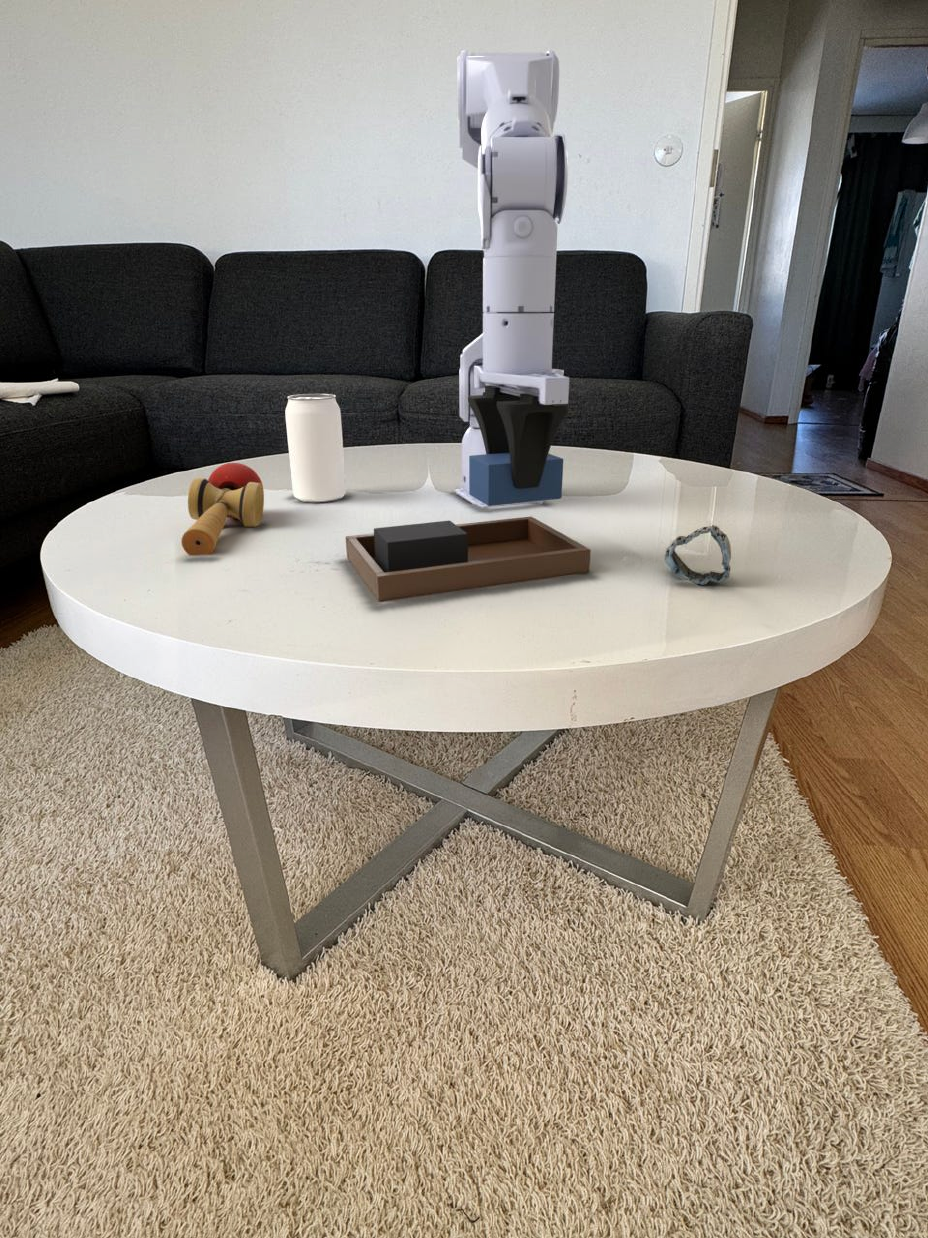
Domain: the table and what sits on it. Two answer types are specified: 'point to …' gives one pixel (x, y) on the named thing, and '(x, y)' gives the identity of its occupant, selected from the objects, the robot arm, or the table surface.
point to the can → (315, 447)
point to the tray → (477, 560)
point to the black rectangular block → (420, 546)
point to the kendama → (222, 505)
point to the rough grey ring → (686, 574)
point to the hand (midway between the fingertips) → (514, 481)
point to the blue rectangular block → (511, 480)
